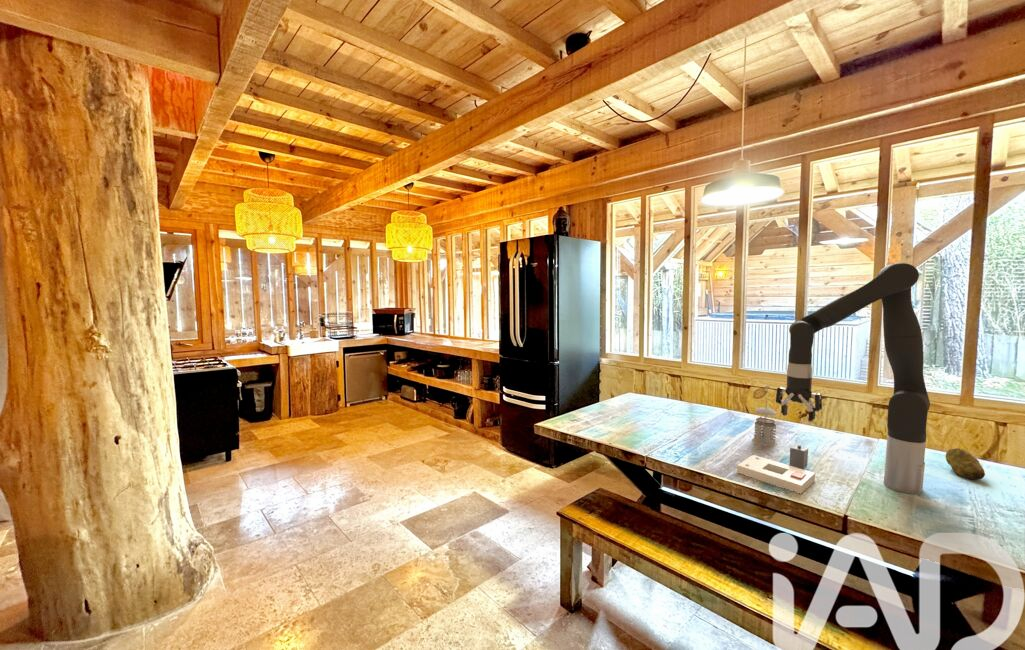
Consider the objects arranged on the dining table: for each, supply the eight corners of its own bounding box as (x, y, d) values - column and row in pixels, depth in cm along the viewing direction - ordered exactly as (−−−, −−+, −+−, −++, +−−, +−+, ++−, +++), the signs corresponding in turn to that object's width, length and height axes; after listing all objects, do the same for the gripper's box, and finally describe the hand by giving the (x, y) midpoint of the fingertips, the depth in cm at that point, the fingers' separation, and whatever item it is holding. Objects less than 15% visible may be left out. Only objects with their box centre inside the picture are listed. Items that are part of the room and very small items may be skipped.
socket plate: (814, 481, 143) (815, 471, 142) (801, 494, 134) (801, 483, 134) (752, 462, 158) (753, 453, 158) (736, 472, 149) (737, 463, 149)
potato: (951, 477, 144) (953, 455, 144) (942, 464, 155) (944, 444, 154) (986, 484, 140) (988, 461, 139) (974, 470, 150) (976, 449, 149)
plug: (807, 468, 152) (808, 446, 151) (803, 472, 149) (804, 449, 149) (793, 465, 156) (794, 442, 155) (789, 468, 153) (790, 445, 152)
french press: (780, 442, 178) (783, 385, 176) (773, 449, 170) (776, 390, 168) (755, 436, 185) (757, 382, 183) (747, 443, 177) (749, 386, 175)
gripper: (826, 377, 147) (824, 421, 149) (783, 370, 159) (781, 411, 160) (817, 379, 143) (815, 425, 144) (773, 373, 155) (771, 415, 156)
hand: (797, 417), depth 152 cm, fingers open, 8 cm apart
